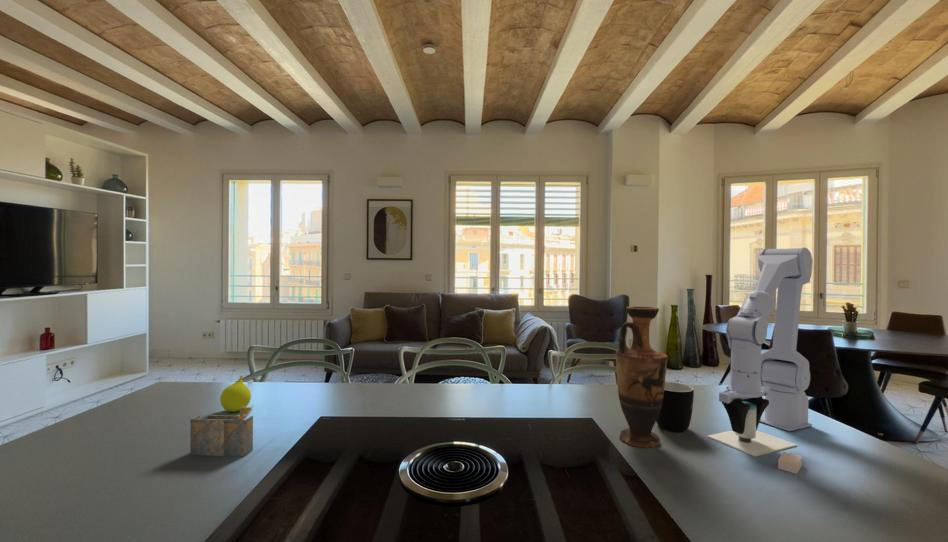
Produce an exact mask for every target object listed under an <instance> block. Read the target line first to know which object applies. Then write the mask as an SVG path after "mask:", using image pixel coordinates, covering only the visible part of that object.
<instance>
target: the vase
mask: <svg viewBox="0 0 948 542" xmlns="http://www.w3.org/2000/svg"><path fill="white" fill-rule="evenodd" d="M625 309H626V312H627V314H628V316H629V317H631V319H632V321H625V322H624V323H623V324H622V326H621V328H620V331H619V336H618V346H617V349H616V351H615V359H616V360H615V361H616V382H617V383H616V384H617V394H618V399H619V403H620V408H621V410H622V413H623V415H624V418H625V421H626V423H627V425H628V427H629V428H625V429H622V430H621V431H620V433H619V439H620V440H621V441H623V442H625V444H627V445H630V446H633V447H634V446H635V447H638V448H655V447H657V446H659V445H660V444H661V443H660V442H661V441H660V437H659V435H658V434H656V433H654V432H653V431H652V430H653V428H654V425H655V424H656V423H657V422H656V420H657V418H658V416H659V413H660V410H661V407H662V402H663V396H664V387H665V382H666V375H667V364H668V358H669V356H668V355H667V354H665V353H663V352H660V351H656V350H654V349H653V347H651V343H650V325H651V321H652V320H653V319H655V318H656V317H657V315H658V313H659V311H660V308H658V307H651V306H636V305H635V306H634V305H633V306H626V307H625ZM627 328H630V330H631V332H632V343H631V346H630V347H628V346H627V342H626V331H627Z"/></svg>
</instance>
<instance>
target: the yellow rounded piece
mask: <svg viewBox="0 0 948 542" xmlns="http://www.w3.org/2000/svg"><path fill="white" fill-rule="evenodd" d="M242 374H244V372H242ZM243 376H244V375H240V376H239V378H238V380H237V381H236V382H234V383H231V384H230V385H229V386H227V387H226V388H224V390H222V391H221V394H220V398H219V402H220V405H221V407H222V408H223V409H224V410H225V411H227V412H230V413H236V412H237V413H238V412H240V408H242V406H243V405H244V407H248V405H249V404H250V402H251V399H252V393H251V390H250V389H249V387H248V386H247V385H246V384H245V383H244V382H243V381H244V380H243Z"/></svg>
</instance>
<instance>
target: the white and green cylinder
mask: <svg viewBox="0 0 948 542" xmlns="http://www.w3.org/2000/svg"><path fill="white" fill-rule="evenodd" d="M742 402H743V403H744V404H747V405H750V406H751V407H750V409H749V410H748V413H747V416H746V420H745V428H744V432H743V434H739V433H736V432H735V434H736V435H737V436H739V440H740V441H742V442H747V443H750V442H751V439H754V438H756V410H757V405H755V404H753V403H750V402H745V401H742Z"/></svg>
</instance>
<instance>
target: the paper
mask: <svg viewBox="0 0 948 542" xmlns="http://www.w3.org/2000/svg"><path fill="white" fill-rule="evenodd" d="M706 437H707V438H708V439H712V440H714V441H716V442H718V443H721V444H723V445H726V446H728V447H730V448H733V449H736V450H738V451H740V452H743V453H746V454H748V455H750V456H752V457H759V456H764V455H767V454H771V453H775V452H780V451H783V450H786V449H792V448H793V447H795V448H796V447H797V446H798V444H797V443H793V442H790V441H788V440H785V439H783V438H779V437H777V436H773V435H771V434H768V433H765V432H764V431H763V432H762V431H759V430H758V429H757V430H756V438H754V439H751V442H750V443H747V442H742V441H740V440H739V436H737V435H736V434H735V432H734V431H732V429H731V430H727V431H723V432H722V431H721V432H719V433H718V432H717V433H714V434H709V435H708V434H707V435H706Z"/></svg>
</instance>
